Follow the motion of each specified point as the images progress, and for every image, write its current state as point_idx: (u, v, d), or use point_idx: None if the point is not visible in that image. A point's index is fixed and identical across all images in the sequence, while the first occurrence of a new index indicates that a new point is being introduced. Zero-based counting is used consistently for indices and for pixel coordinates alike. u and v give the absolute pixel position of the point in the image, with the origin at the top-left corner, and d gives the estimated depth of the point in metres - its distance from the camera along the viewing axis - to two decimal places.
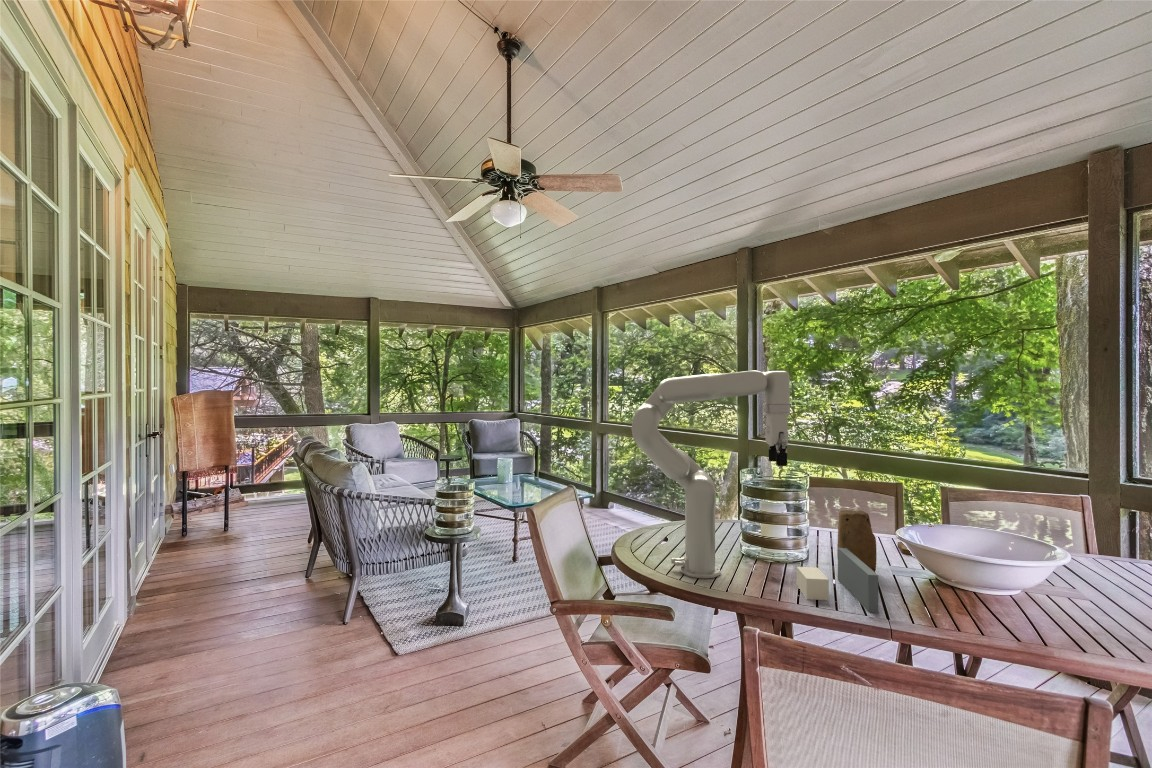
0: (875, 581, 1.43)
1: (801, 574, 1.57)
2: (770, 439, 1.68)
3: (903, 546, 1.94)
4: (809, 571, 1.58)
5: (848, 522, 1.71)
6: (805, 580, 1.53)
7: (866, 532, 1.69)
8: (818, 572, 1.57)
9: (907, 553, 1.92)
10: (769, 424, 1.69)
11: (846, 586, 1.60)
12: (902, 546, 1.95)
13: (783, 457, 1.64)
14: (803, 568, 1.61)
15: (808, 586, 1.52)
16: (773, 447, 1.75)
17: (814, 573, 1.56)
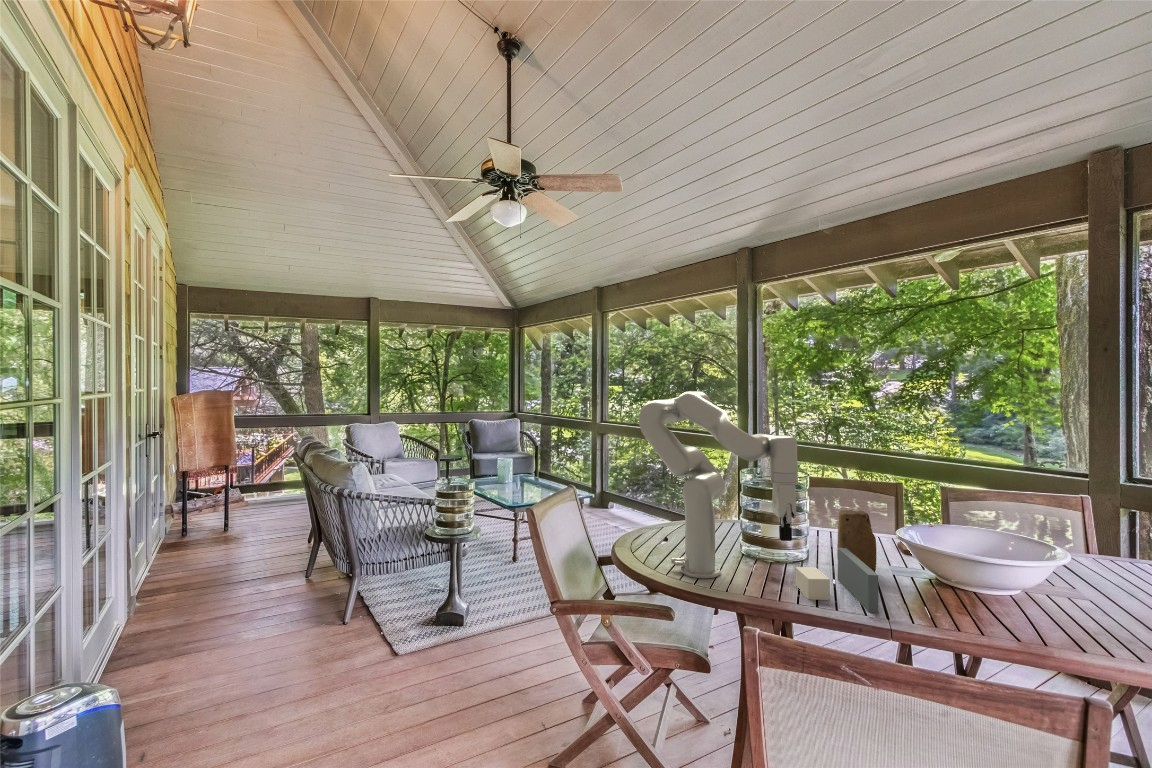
0: (875, 581, 1.43)
1: (801, 574, 1.57)
2: (777, 510, 1.56)
3: (904, 546, 1.94)
4: (809, 571, 1.58)
5: (848, 522, 1.71)
6: (807, 580, 1.53)
7: (866, 532, 1.69)
8: (818, 572, 1.58)
9: (909, 553, 1.91)
10: (776, 494, 1.57)
11: (846, 586, 1.60)
12: (903, 546, 1.94)
13: (787, 532, 1.56)
14: (802, 568, 1.61)
15: (810, 586, 1.52)
16: None
17: (814, 573, 1.56)
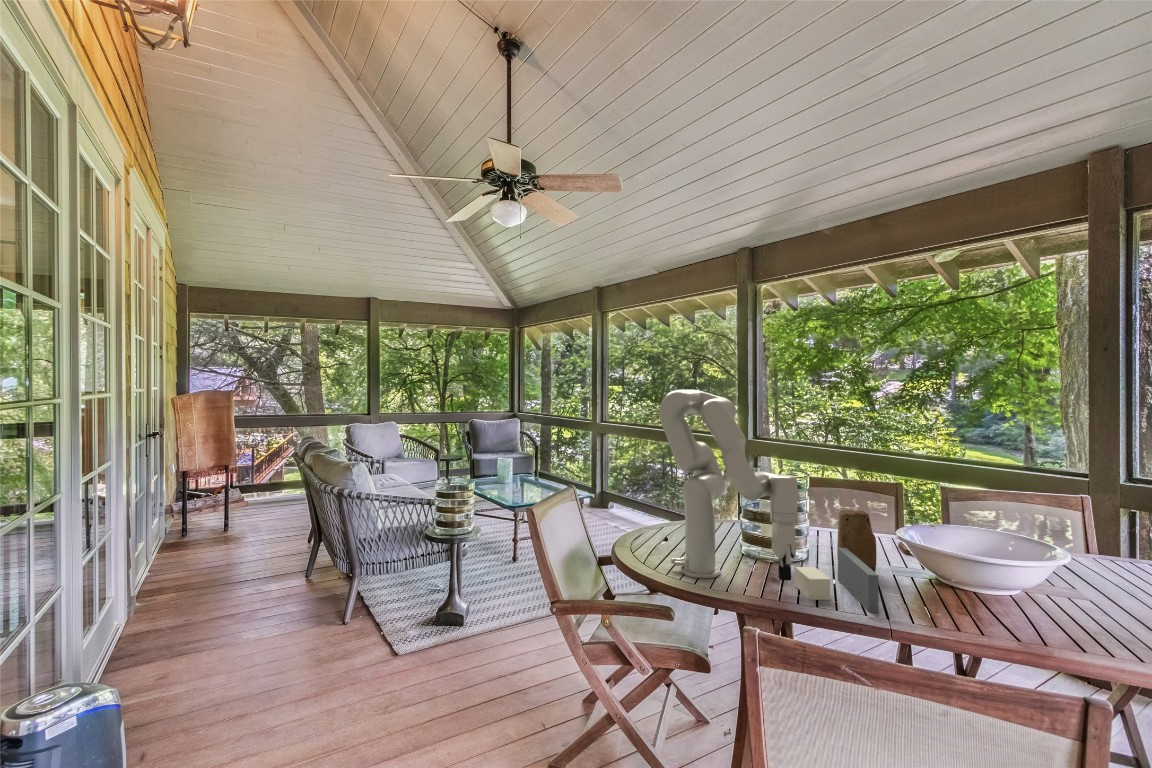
0: (875, 581, 1.43)
1: (801, 574, 1.57)
2: (776, 550, 1.56)
3: (905, 546, 1.94)
4: (809, 571, 1.58)
5: (848, 522, 1.71)
6: (808, 580, 1.53)
7: (866, 532, 1.69)
8: (818, 572, 1.58)
9: (910, 553, 1.91)
10: (775, 533, 1.57)
11: (846, 586, 1.60)
12: (904, 546, 1.94)
13: (787, 571, 1.57)
14: (802, 568, 1.61)
15: (811, 586, 1.52)
16: None
17: (814, 573, 1.56)
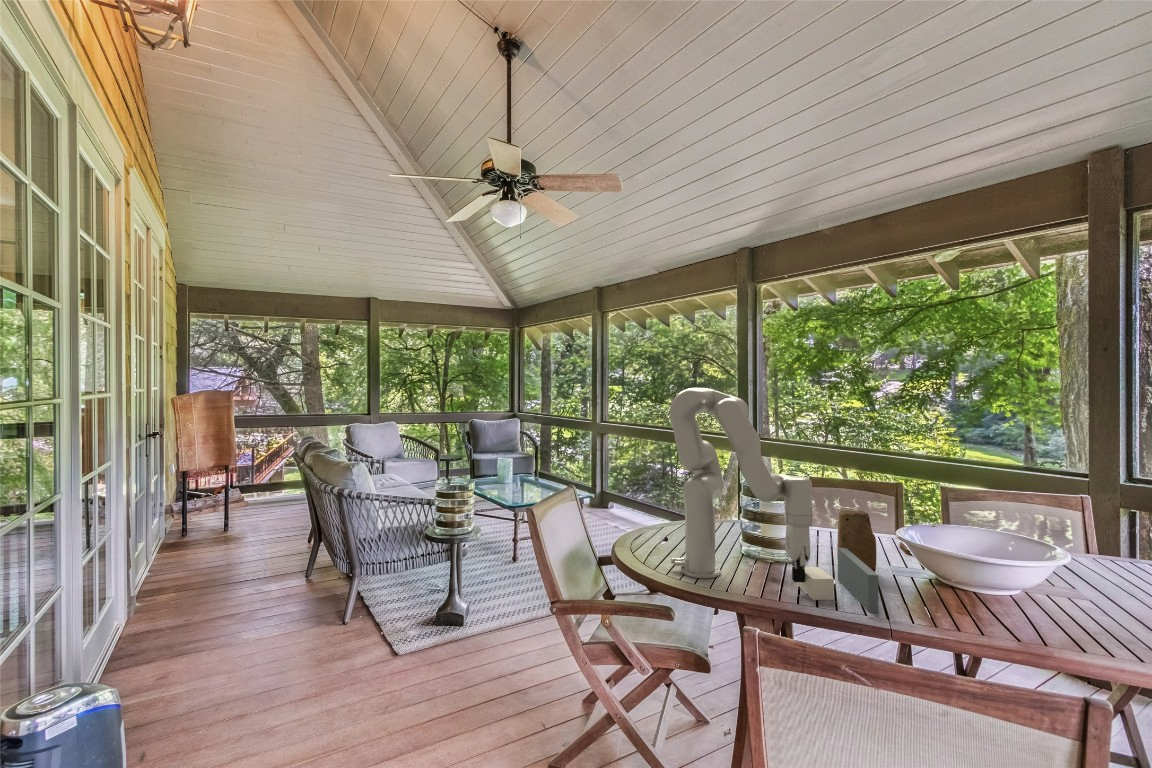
0: (875, 581, 1.43)
1: (805, 574, 1.57)
2: (790, 552, 1.55)
3: None
4: (812, 571, 1.58)
5: (848, 522, 1.71)
6: (811, 580, 1.53)
7: (866, 532, 1.69)
8: (821, 572, 1.58)
9: (911, 554, 1.91)
10: (789, 535, 1.56)
11: (846, 586, 1.60)
12: (906, 547, 1.94)
13: (801, 573, 1.56)
14: (805, 568, 1.61)
15: (814, 586, 1.52)
16: None
17: (818, 573, 1.56)
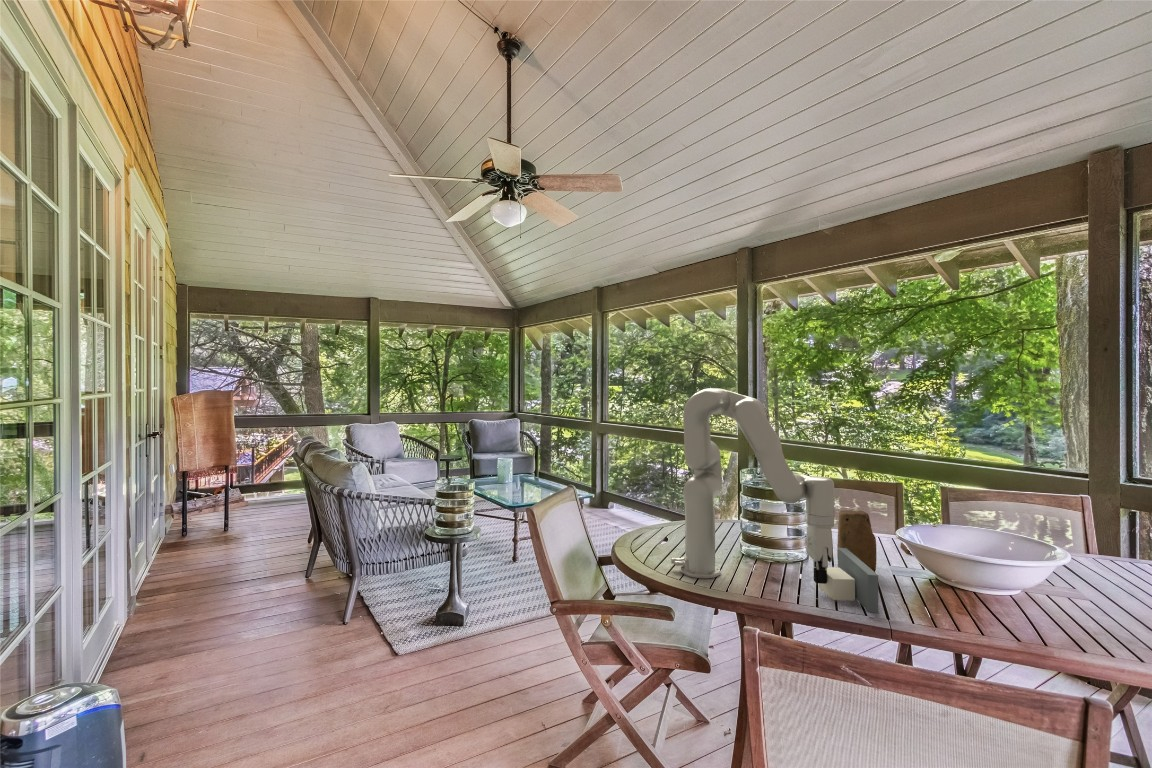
0: (875, 581, 1.43)
1: None
2: (813, 553, 1.54)
3: None
4: (833, 571, 1.58)
5: (848, 522, 1.71)
6: (832, 580, 1.53)
7: (866, 532, 1.69)
8: (842, 572, 1.57)
9: None
10: (811, 536, 1.56)
11: None
12: None
13: (823, 574, 1.55)
14: None
15: (835, 586, 1.52)
16: None
17: (839, 573, 1.56)
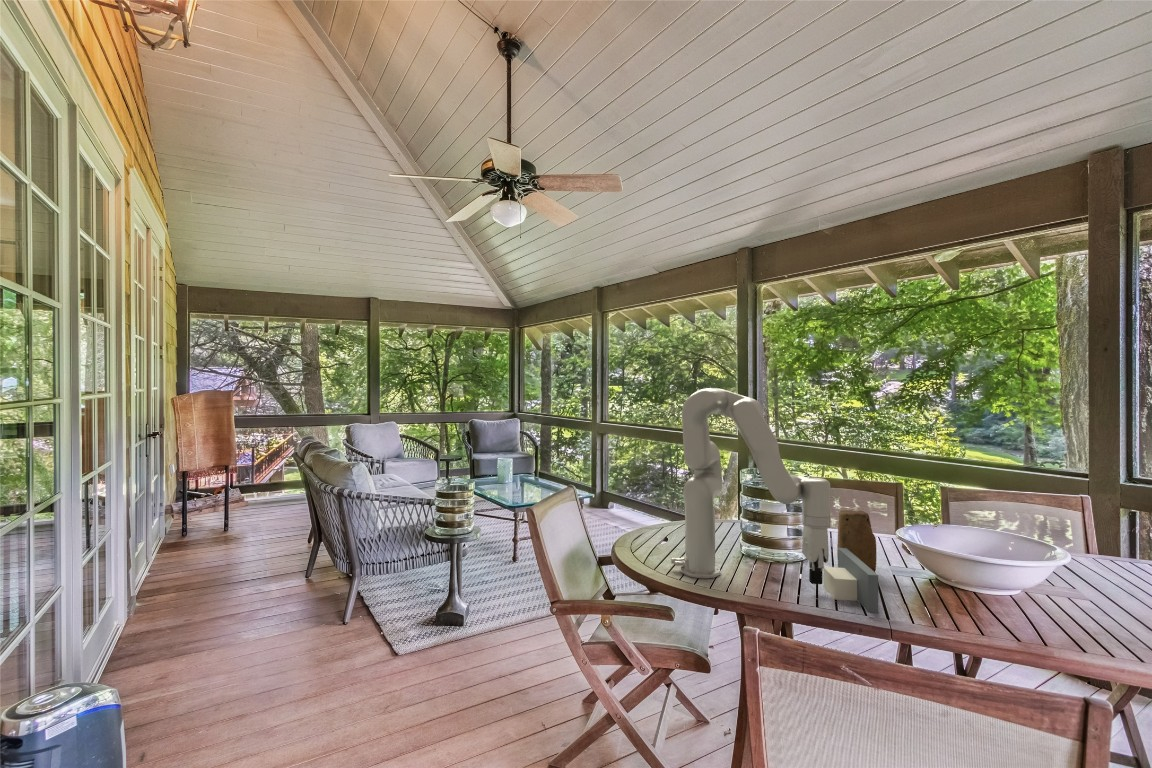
0: (875, 581, 1.43)
1: (829, 574, 1.57)
2: (808, 554, 1.55)
3: None
4: (837, 571, 1.58)
5: (848, 522, 1.71)
6: (833, 580, 1.53)
7: (866, 532, 1.69)
8: (846, 572, 1.57)
9: None
10: (807, 537, 1.56)
11: None
12: None
13: (818, 575, 1.56)
14: (830, 568, 1.61)
15: (837, 586, 1.52)
16: None
17: (842, 574, 1.56)
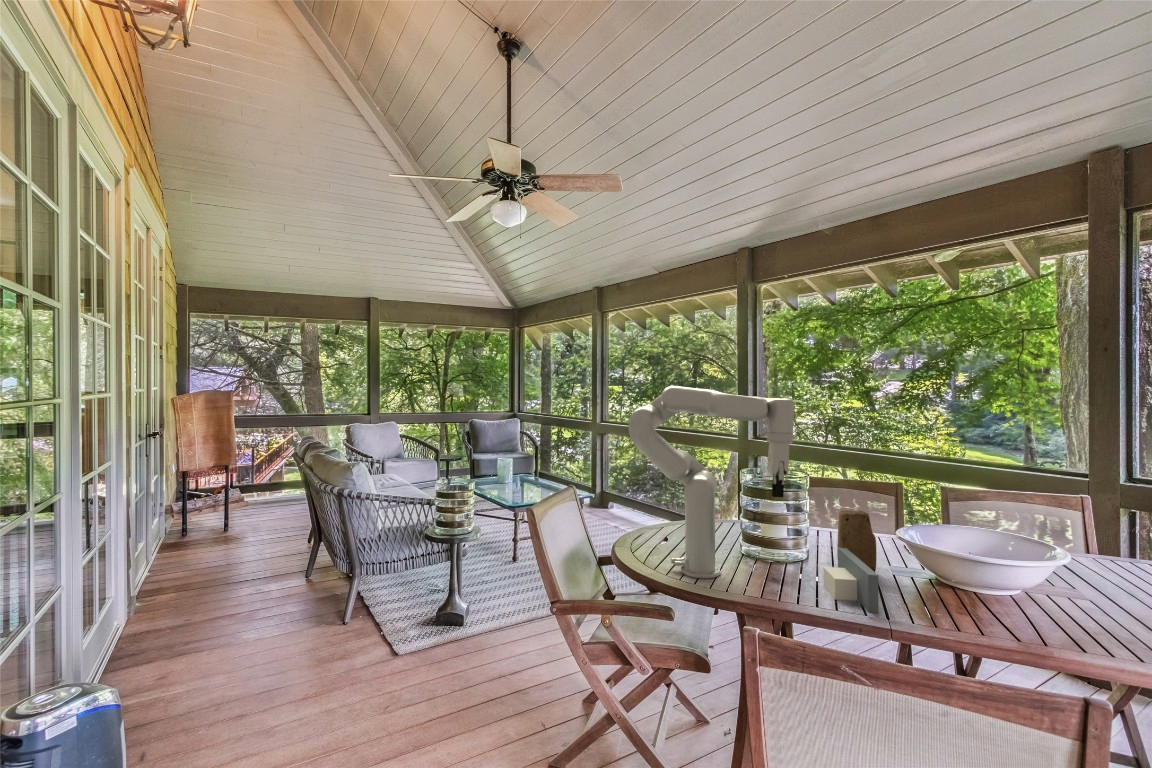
0: (875, 581, 1.43)
1: (829, 574, 1.57)
2: (770, 468, 1.64)
3: None
4: (837, 571, 1.58)
5: (848, 522, 1.71)
6: (833, 580, 1.53)
7: (866, 532, 1.69)
8: (846, 572, 1.57)
9: None
10: (770, 452, 1.66)
11: None
12: None
13: (779, 489, 1.65)
14: (830, 568, 1.61)
15: (836, 586, 1.52)
16: None
17: (842, 574, 1.56)
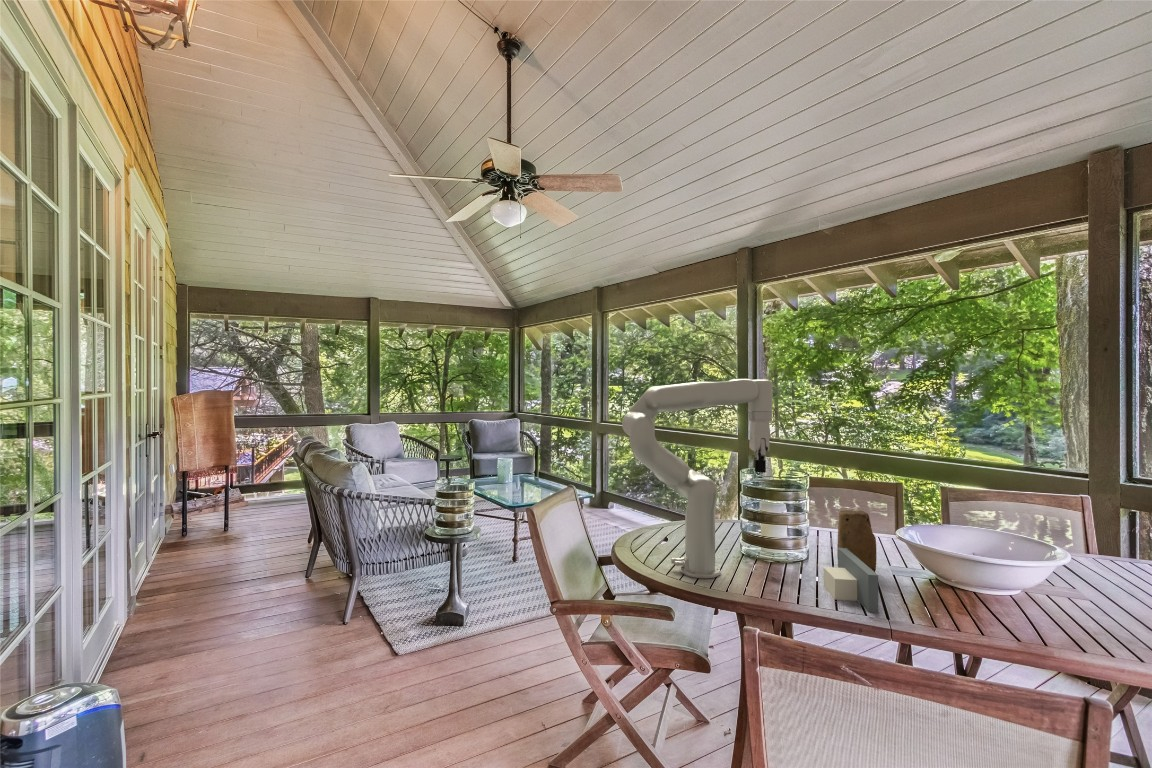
0: (875, 581, 1.43)
1: (829, 574, 1.57)
2: (753, 445, 1.75)
3: None
4: (837, 571, 1.58)
5: (848, 522, 1.71)
6: (833, 580, 1.53)
7: (866, 532, 1.69)
8: (846, 572, 1.57)
9: None
10: (752, 430, 1.76)
11: None
12: None
13: (762, 464, 1.76)
14: (830, 568, 1.61)
15: (837, 586, 1.52)
16: None
17: (842, 574, 1.56)
